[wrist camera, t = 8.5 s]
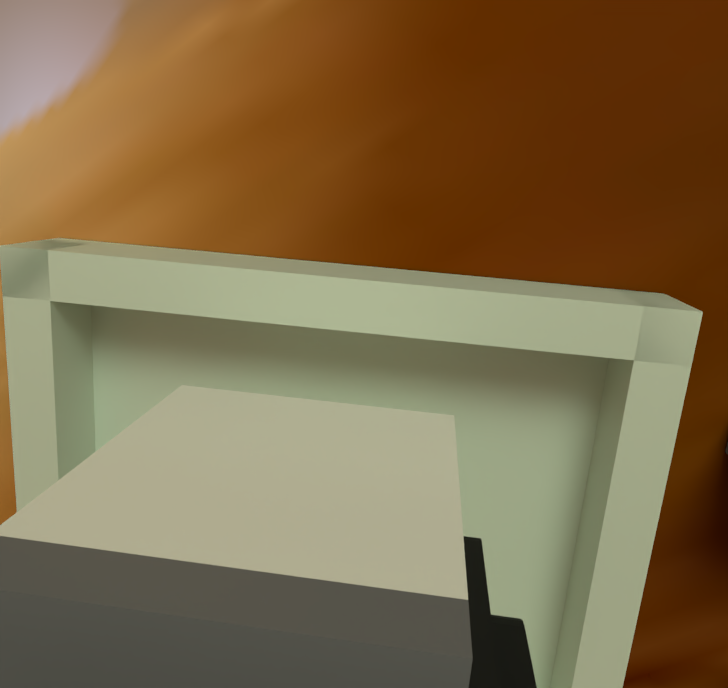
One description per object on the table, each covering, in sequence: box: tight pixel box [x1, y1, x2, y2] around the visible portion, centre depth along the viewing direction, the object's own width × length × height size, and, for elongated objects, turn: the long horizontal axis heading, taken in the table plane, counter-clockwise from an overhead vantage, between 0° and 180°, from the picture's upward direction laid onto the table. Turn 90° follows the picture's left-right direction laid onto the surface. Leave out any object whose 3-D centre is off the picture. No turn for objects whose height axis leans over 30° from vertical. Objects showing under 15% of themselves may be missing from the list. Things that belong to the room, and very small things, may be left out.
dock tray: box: [0, 238, 703, 688], centre depth 14 cm, size 13×11×2 cm
